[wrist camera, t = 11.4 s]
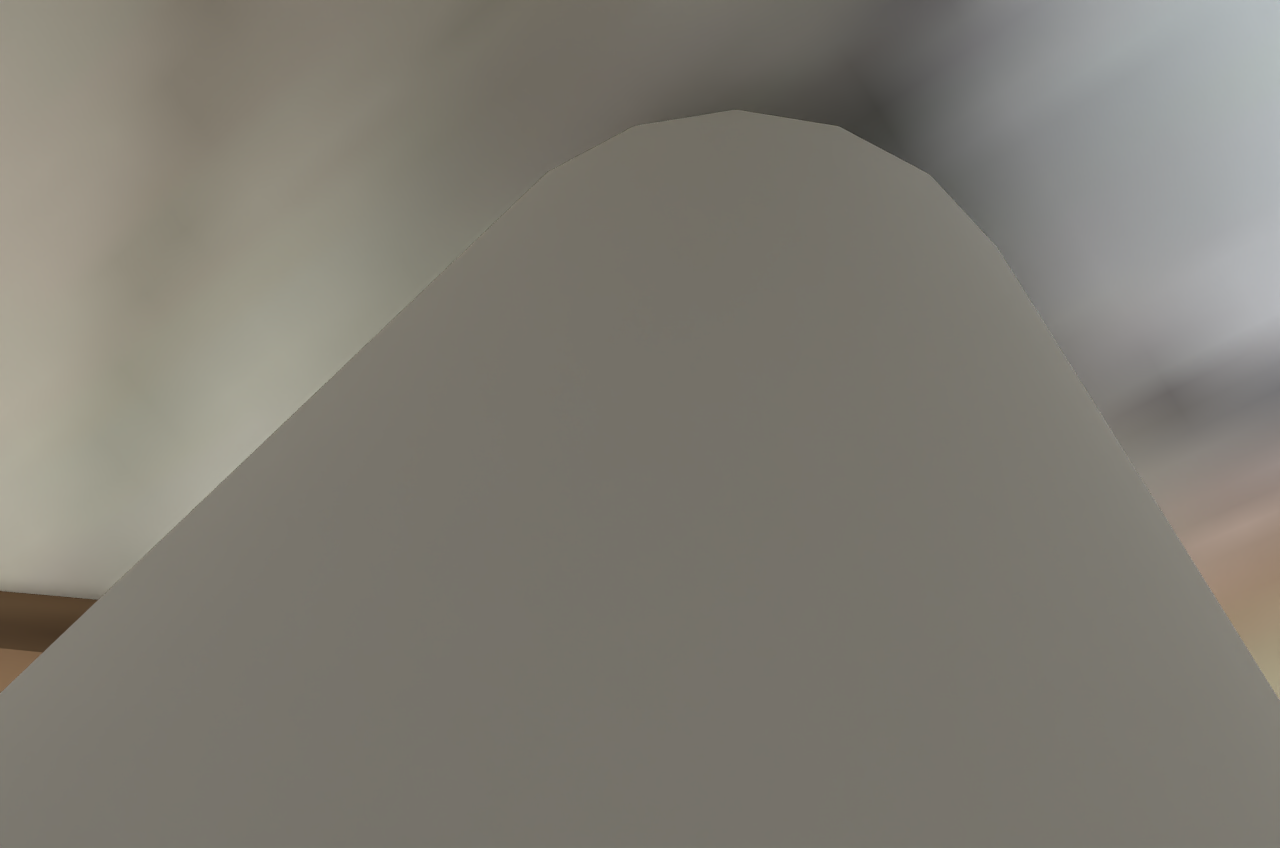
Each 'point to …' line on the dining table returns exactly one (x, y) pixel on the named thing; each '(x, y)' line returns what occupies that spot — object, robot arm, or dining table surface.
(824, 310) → the potion bottle
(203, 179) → the dining table surface
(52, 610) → the tan wooden board
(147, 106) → the dining table surface
